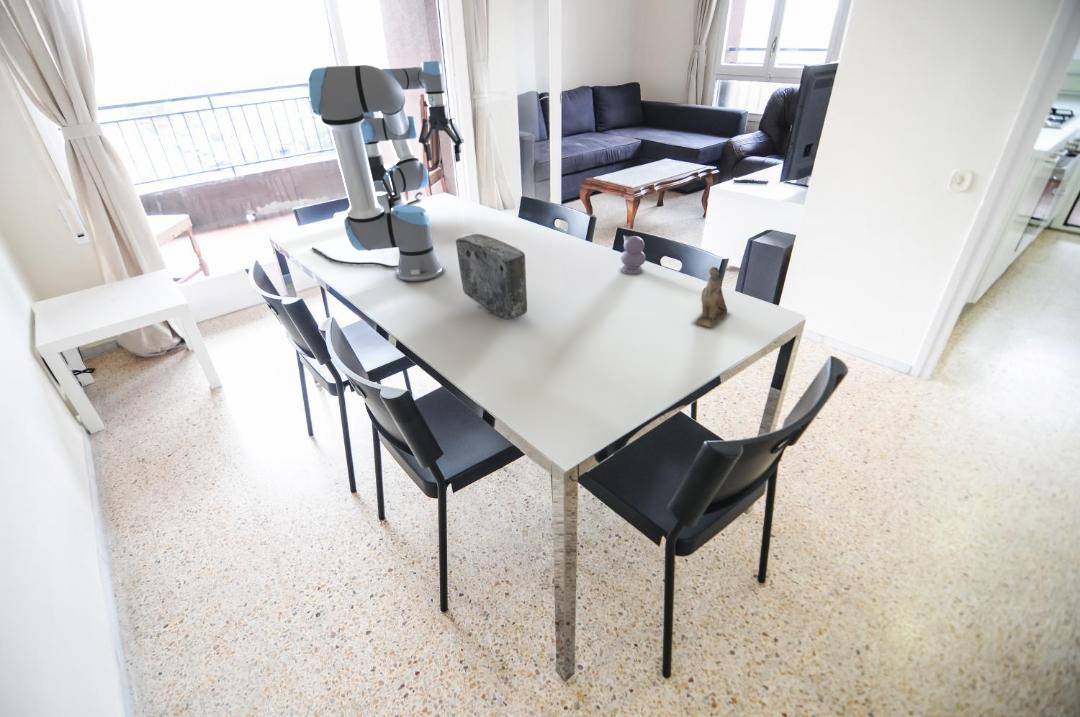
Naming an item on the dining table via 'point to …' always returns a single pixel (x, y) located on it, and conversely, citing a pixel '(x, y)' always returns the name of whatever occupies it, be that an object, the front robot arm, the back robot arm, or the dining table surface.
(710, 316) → the brown carved statuette
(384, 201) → the canister
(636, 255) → the cat figurine
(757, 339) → the dining table surface
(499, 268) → the concrete block
